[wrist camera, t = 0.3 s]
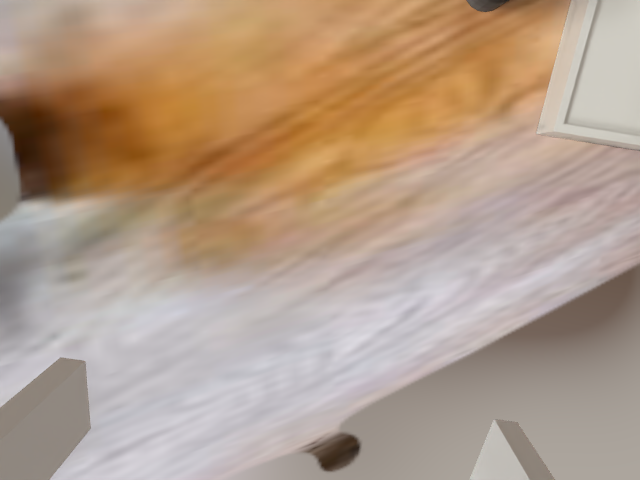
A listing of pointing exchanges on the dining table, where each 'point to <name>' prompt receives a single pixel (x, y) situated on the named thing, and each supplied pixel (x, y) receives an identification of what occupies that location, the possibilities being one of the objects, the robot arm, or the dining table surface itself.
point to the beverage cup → (486, 4)
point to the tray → (596, 76)
